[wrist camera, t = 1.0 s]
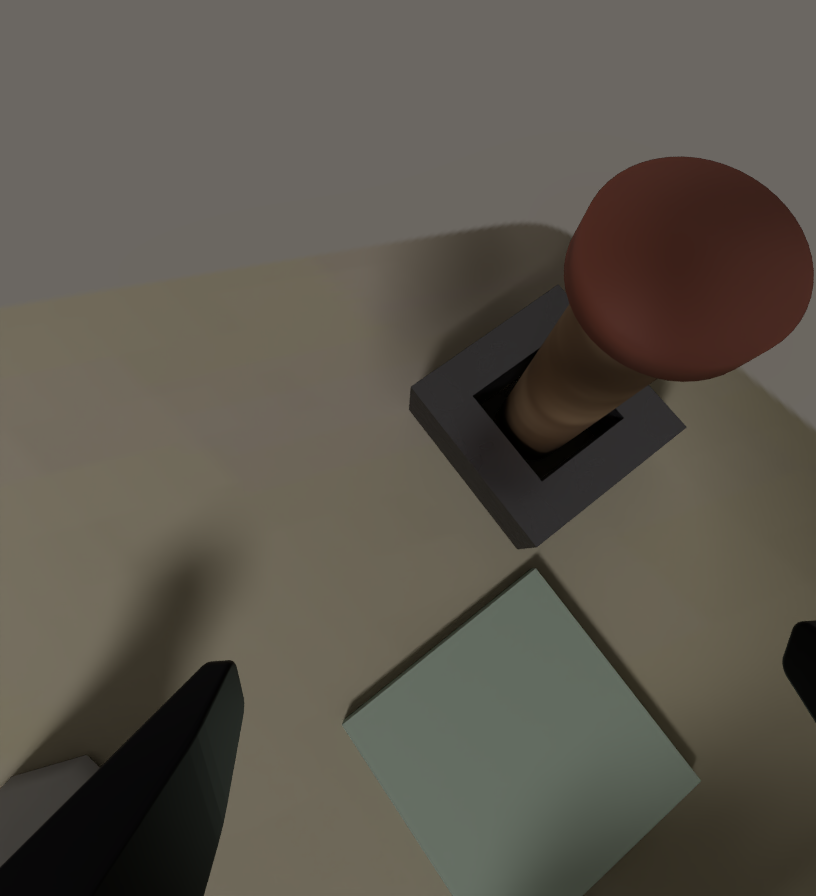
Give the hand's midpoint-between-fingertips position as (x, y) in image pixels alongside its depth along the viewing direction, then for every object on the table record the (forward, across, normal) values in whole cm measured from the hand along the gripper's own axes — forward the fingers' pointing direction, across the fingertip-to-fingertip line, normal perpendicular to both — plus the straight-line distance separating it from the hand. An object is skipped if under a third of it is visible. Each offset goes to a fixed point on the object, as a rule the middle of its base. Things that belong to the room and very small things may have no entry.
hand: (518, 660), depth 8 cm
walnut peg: (+15, -5, +2) cm, 16 cm away
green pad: (+7, -2, +12) cm, 15 cm away
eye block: (+15, -5, +2) cm, 16 cm away
